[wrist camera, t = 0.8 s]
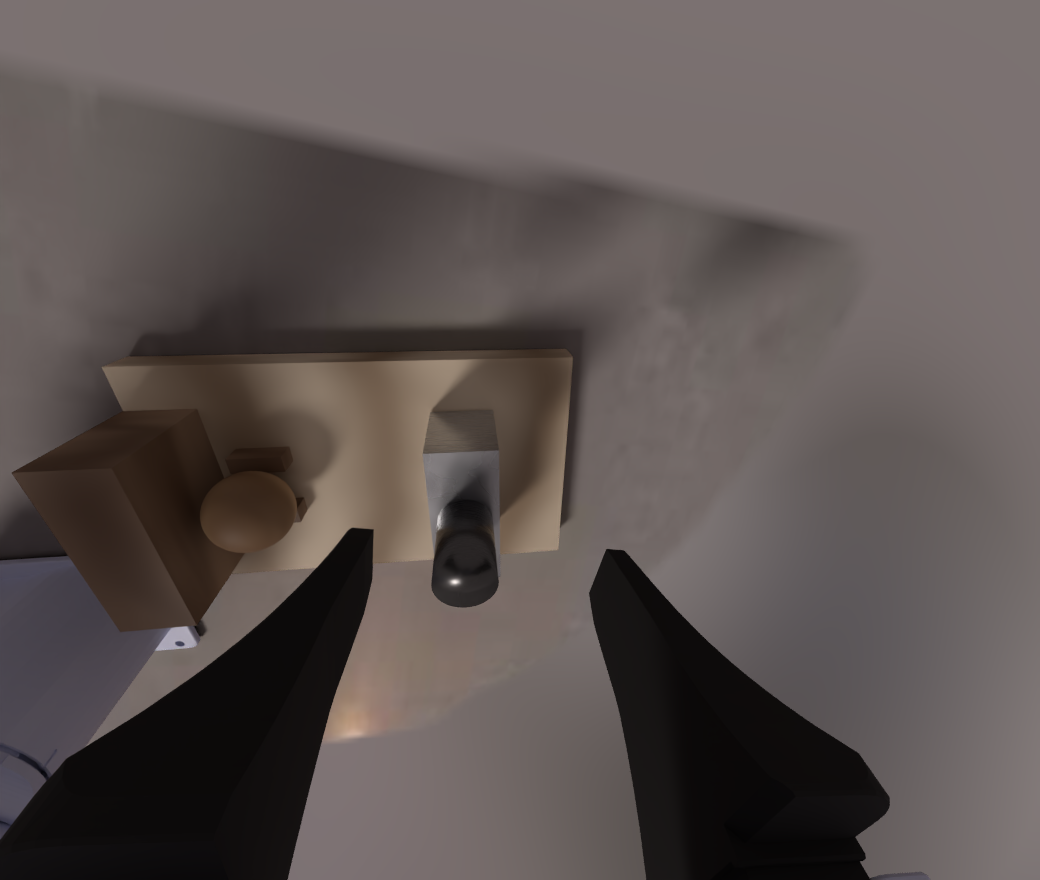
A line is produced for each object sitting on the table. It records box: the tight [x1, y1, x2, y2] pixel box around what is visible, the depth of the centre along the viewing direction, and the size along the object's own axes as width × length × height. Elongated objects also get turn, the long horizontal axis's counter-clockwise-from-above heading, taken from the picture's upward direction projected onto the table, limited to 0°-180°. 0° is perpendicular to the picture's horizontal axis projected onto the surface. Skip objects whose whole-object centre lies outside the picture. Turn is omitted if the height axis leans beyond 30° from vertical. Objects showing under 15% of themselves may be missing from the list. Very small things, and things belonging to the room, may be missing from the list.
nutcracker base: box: [12, 349, 573, 632], centre depth 19 cm, size 20×12×6 cm, turn 89°
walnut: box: [200, 471, 297, 553], centre depth 18 cm, size 4×4×4 cm
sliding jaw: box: [423, 410, 500, 607], centre depth 18 cm, size 3×7×8 cm, turn 179°
